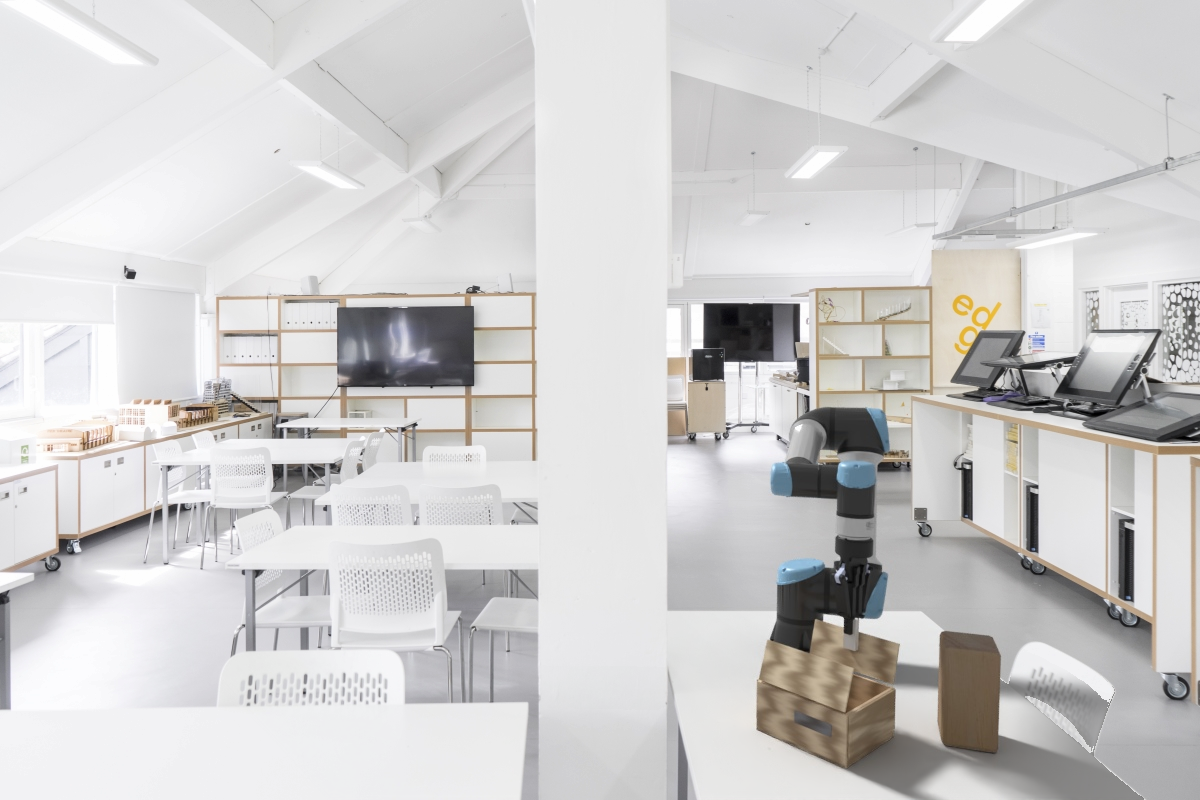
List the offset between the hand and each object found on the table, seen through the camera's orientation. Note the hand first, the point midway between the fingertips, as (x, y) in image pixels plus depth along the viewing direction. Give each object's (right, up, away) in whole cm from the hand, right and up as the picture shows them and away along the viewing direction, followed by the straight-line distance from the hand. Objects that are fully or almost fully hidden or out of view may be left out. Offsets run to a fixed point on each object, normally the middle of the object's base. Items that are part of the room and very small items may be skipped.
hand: (850, 648), depth 160 cm
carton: (-7, -15, -6) cm, 18 cm away
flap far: (0, -5, 0) cm, 5 cm away
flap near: (-14, -6, -12) cm, 19 cm away
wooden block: (+20, -16, -8) cm, 27 cm away
